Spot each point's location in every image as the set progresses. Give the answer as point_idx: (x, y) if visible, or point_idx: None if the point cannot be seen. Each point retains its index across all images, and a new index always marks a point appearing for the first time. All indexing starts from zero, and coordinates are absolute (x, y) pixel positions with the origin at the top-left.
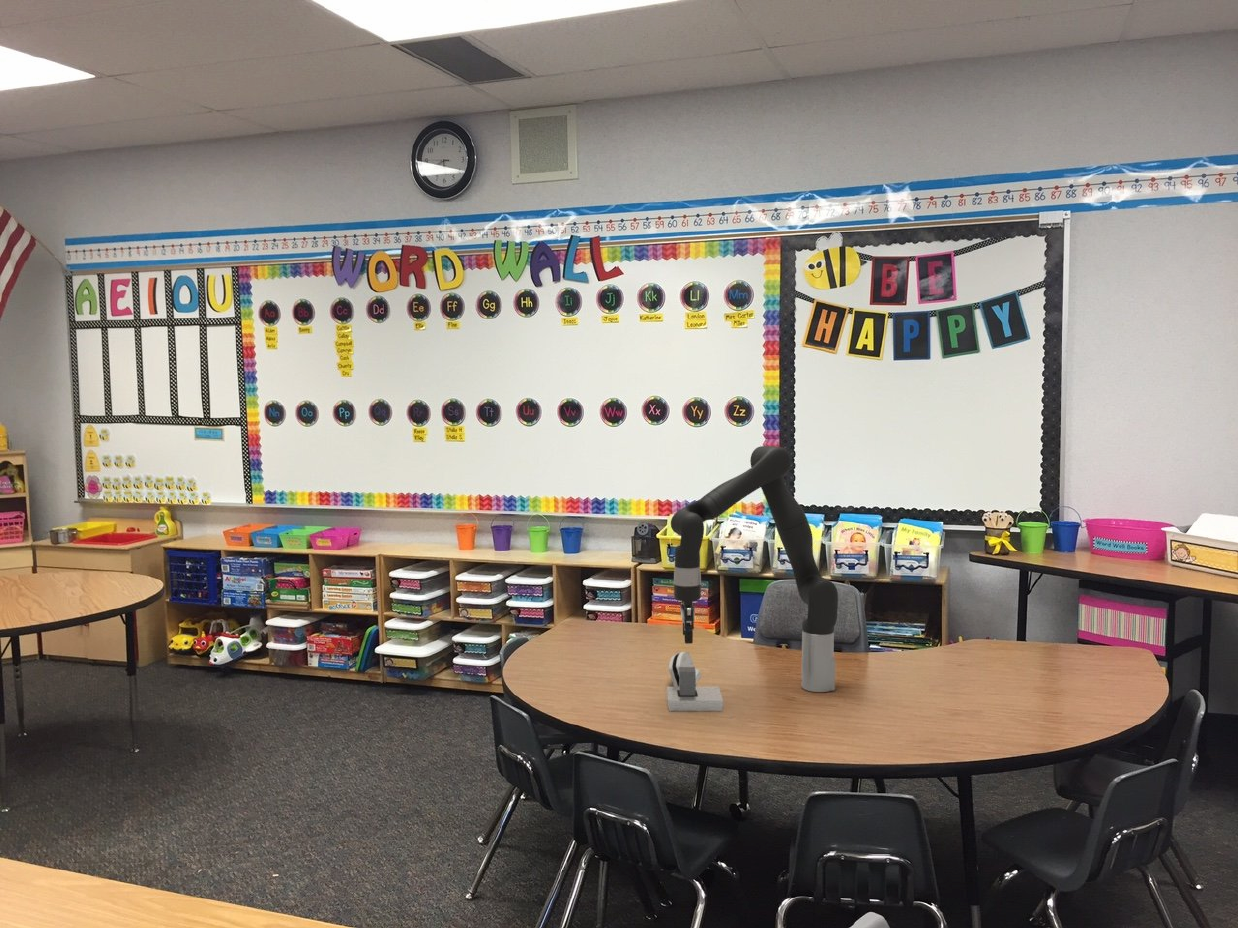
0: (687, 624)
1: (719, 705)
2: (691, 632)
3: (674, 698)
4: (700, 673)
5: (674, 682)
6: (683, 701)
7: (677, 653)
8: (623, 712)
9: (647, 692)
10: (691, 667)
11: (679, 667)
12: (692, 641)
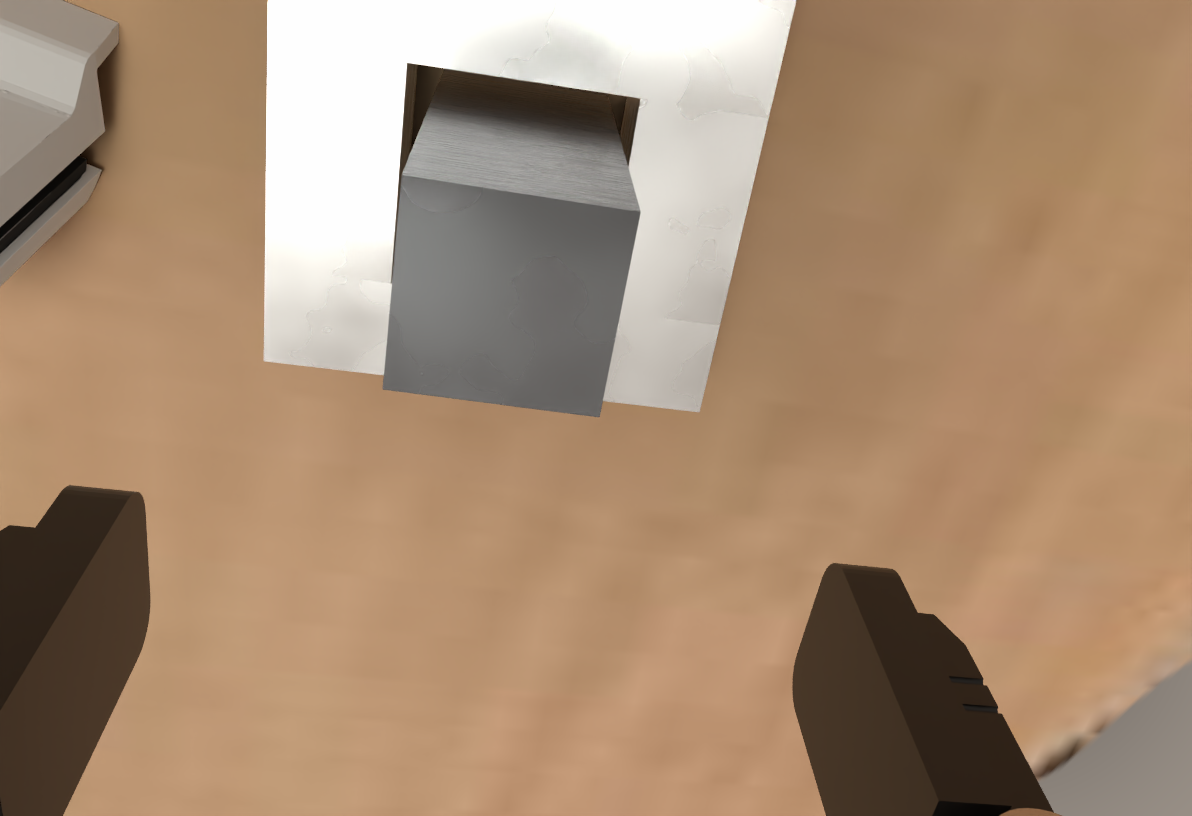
0: (30, 753)
1: None
2: (973, 775)
3: (652, 352)
4: None
5: (43, 238)
6: (730, 275)
7: None
8: (646, 674)
9: (160, 462)
10: (418, 227)
11: (401, 388)
12: (901, 584)
